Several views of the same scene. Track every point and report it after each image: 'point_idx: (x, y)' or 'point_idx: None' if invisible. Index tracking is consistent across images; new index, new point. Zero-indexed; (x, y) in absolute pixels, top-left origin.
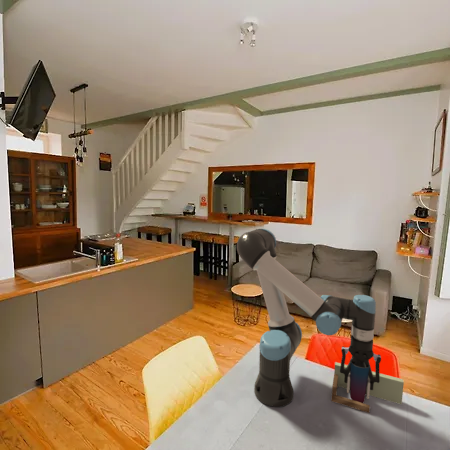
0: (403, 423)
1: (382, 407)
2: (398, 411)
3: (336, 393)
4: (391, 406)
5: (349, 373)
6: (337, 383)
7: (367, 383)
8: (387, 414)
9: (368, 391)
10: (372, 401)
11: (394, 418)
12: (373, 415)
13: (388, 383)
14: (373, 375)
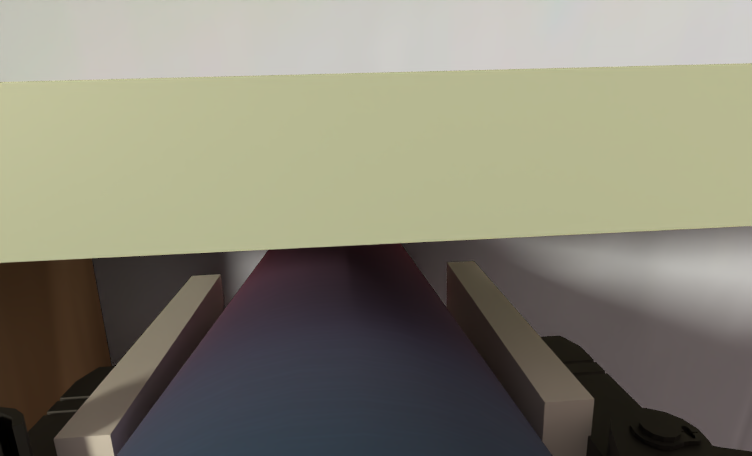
0: (733, 410)
1: (588, 294)
2: (733, 274)
3: (100, 344)
4: (682, 231)
5: (92, 451)
6: None
7: (499, 353)
8: (619, 369)
9: None
10: (496, 250)
11: (671, 388)
12: None
13: None
14: (701, 225)
